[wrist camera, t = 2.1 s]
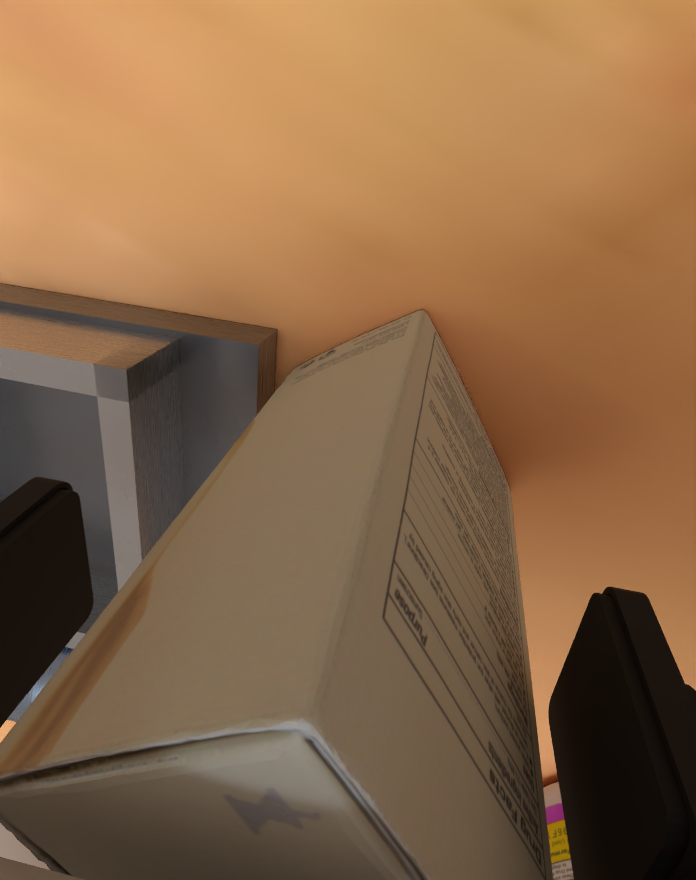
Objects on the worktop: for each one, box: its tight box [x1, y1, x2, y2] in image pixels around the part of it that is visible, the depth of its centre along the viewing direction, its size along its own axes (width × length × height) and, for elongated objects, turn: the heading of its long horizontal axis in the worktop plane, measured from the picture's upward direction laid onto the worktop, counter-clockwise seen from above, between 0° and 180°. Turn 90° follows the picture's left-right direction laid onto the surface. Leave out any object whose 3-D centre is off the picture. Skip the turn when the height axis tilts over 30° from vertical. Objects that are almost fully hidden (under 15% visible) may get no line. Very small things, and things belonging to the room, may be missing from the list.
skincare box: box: [0, 310, 553, 880], centre depth 11 cm, size 6×4×12 cm
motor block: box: [0, 284, 277, 722], centre depth 17 cm, size 12×14×6 cm
